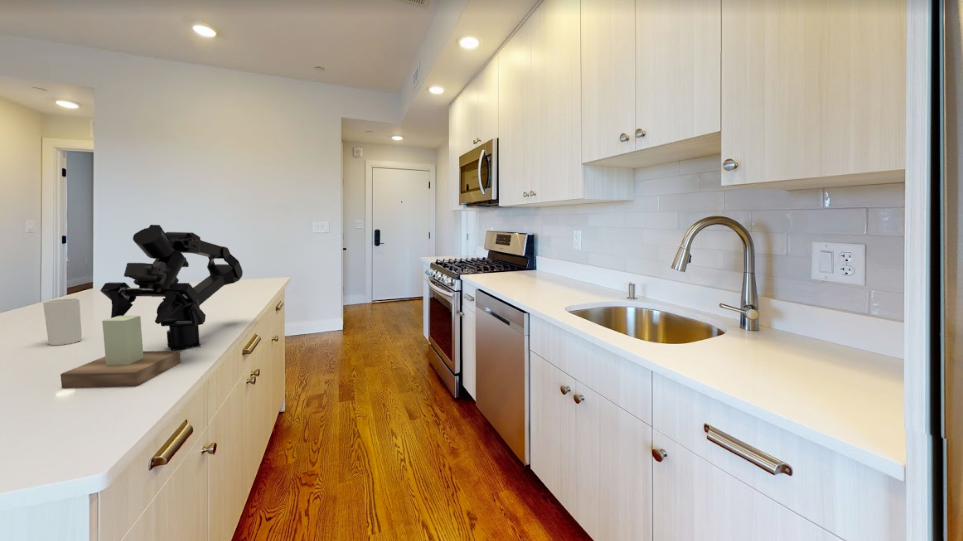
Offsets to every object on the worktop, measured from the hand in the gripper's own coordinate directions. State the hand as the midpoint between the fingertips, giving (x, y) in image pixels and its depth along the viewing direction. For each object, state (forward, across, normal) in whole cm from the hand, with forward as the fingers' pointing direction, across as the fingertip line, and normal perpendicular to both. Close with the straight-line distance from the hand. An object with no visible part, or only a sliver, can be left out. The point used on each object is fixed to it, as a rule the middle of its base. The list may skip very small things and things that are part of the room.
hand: (134, 323), depth 88 cm
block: (+8, 0, +3) cm, 9 cm away
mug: (-8, -35, +24) cm, 43 cm away
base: (+10, 0, +5) cm, 12 cm away
